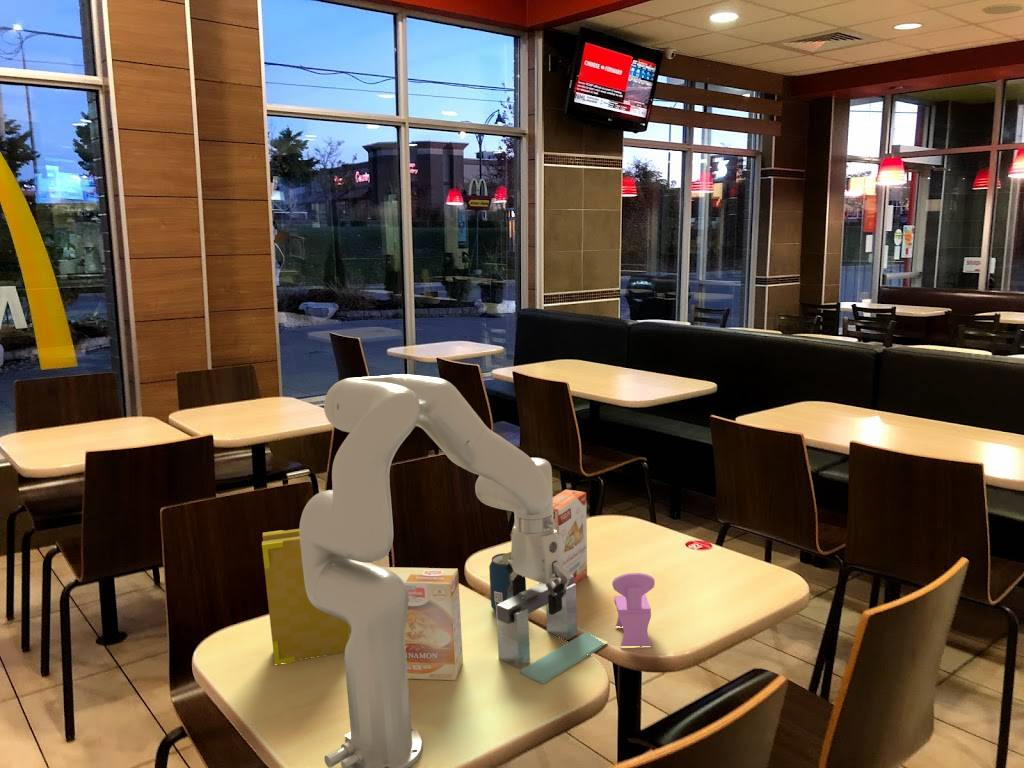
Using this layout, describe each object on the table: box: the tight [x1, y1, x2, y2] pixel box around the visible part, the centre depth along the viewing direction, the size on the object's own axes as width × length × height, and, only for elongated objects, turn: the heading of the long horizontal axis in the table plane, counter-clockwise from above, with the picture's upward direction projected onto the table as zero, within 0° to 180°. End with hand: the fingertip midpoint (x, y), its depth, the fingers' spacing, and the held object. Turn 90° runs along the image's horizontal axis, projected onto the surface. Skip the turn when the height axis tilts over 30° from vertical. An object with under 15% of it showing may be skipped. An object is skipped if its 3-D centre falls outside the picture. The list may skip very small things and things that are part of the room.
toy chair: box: [611, 572, 656, 647], centre depth 160 cm, size 8×9×15 cm
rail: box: [496, 575, 574, 624], centre depth 158 cm, size 19×3×3 cm, turn 135°
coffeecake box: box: [382, 566, 464, 681], centre depth 151 cm, size 15×7×20 cm, turn 82°
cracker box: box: [538, 489, 588, 585], centre depth 186 cm, size 14×6×21 cm, turn 148°
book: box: [261, 528, 351, 665], centre depth 160 cm, size 17×7×25 cm, turn 105°
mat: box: [520, 632, 604, 685], centre depth 155 cm, size 19×6×1 cm, turn 135°
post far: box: [545, 583, 578, 641], centre depth 164 cm, size 3×6×11 cm, turn 45°
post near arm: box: [495, 606, 531, 669], centre depth 154 cm, size 3×6×11 cm, turn 45°
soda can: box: [489, 552, 513, 614], centre depth 175 cm, size 7×7×12 cm
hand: (537, 604), depth 158 cm, fingers open, 9 cm apart
